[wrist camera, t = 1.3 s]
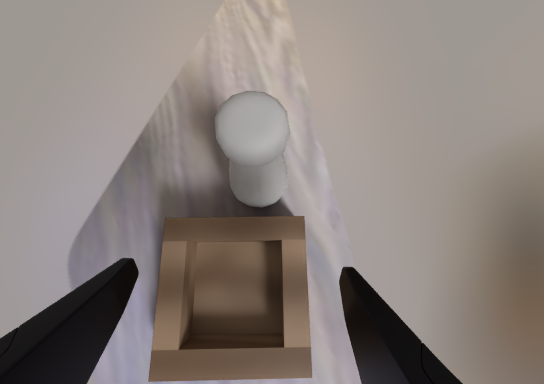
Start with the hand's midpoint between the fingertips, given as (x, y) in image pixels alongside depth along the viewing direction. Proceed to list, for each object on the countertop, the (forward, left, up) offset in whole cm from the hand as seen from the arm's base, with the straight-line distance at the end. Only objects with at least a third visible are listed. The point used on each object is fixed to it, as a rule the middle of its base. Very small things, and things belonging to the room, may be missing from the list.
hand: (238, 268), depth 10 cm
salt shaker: (+8, 0, -13) cm, 15 cm away
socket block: (-2, +2, -13) cm, 14 cm away
